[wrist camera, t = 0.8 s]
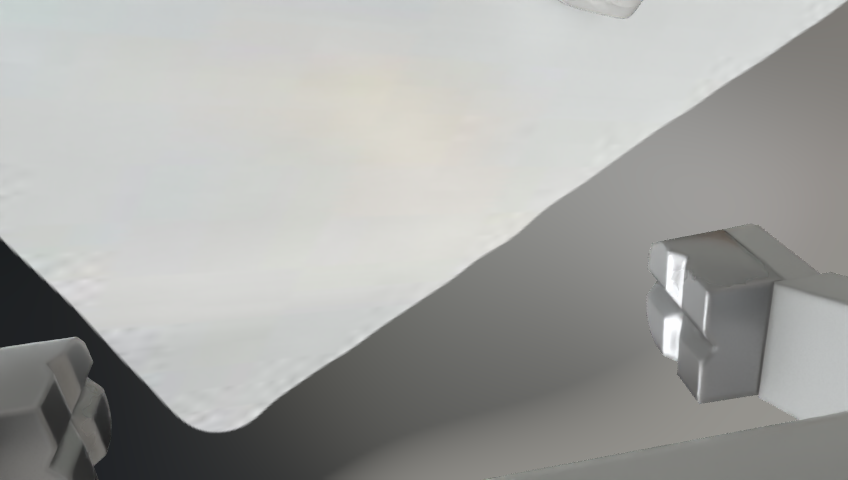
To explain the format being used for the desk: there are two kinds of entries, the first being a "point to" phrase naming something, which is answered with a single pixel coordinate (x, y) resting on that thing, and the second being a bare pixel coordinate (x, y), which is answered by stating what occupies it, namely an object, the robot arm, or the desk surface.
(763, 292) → the robot arm
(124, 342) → the desk surface
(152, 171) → the desk surface
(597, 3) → the eye dropper bottle
